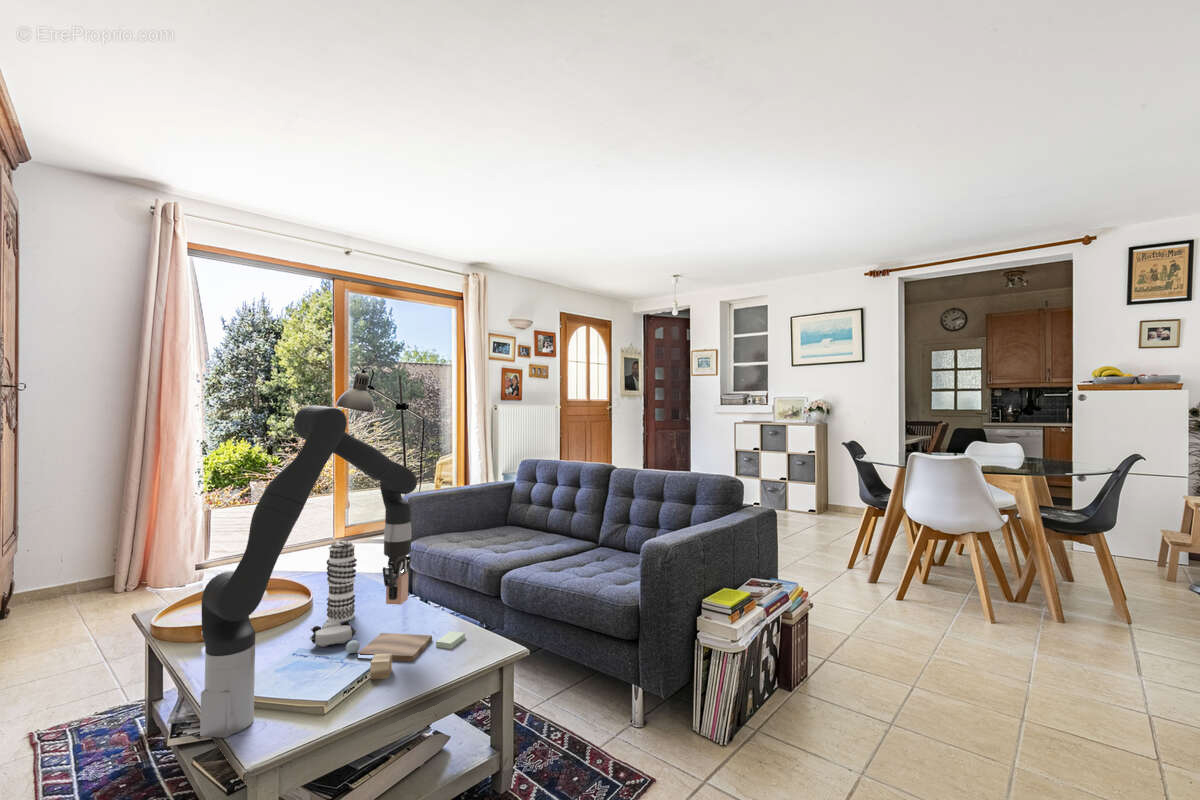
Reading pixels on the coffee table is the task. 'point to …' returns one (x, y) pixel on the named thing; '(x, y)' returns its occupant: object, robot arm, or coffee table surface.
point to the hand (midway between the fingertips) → (397, 596)
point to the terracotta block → (399, 590)
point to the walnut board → (397, 646)
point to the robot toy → (332, 633)
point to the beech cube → (381, 666)
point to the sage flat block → (450, 640)
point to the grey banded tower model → (341, 581)
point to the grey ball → (352, 646)
